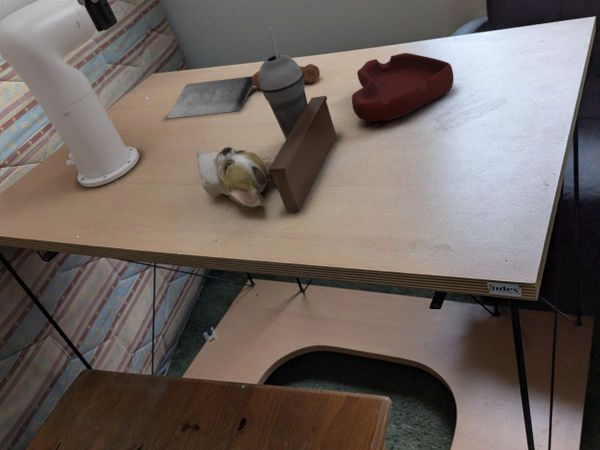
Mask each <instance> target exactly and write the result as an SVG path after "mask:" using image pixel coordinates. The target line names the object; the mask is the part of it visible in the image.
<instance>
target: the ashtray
mask: <svg viewBox="0 0 600 450" xmlns="http://www.w3.org/2000/svg"><path fill="white" fill-rule="evenodd" d="M356 74H357V79H358V81H359V84H360V86H361V88H360V89H358V90H356V91H355V92H354V93H353V94H352V95H351V106H352V109H353V112H354V114H355V116H356V117H357V118H358V119H360V120H361V121H363V122H364V121H365V122H369V124H370V125H371V126H379V125H382V124H384V123H386V122H387V121H390V120H394V119H399V118H400V117H403V116H406V115H407V114H409V113H411V112H412V111H414V110H416V109H417V108H420V107H422V106H425V105H426V104H428V103H430V102H433V101H435V100H437V99H439V98H440V99H441V98H442V97H444V96H446V95H447V93H449V92H450V91H451V89H452V88H453V85H454V78H455V77H454V76H455V75H454V71H453V67H452V65H451V63H449V62H448V61H444V60H442V59H438V58H433V57H429V56H425V55H419V54H415V53H409V52H402V53H398V54H394V55H391V56H390V58H389V60H388V61H387V62H385V63H382V62H380V61H379V60H378V59H377V58H375V59H370V60H368V61H366V62H365V63H364V65H363V66H362V67H360V68H359V69H358V70H357V72H356Z"/></svg>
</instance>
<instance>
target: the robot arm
mask: <svg viewBox="0 0 600 450" xmlns="http://www.w3.org/2000/svg"><path fill="white" fill-rule="evenodd" d="M117 23H118V20H117V17H116V15H115V14H114V11H113V9H112V7H111V5H110V3H109V1H108V0H0V56H1V57H2V58H3V60H4V61H5V62H6V63H7V65H9V67H10V68H11V69H12V70H13V71H14V72H15V73H16V74H17V75H18V77H19V78H20V79H21V81H22V82H23V83H24V85H26V88H28V90H29V91H30V93H31V94H32V95H33V97H34V98H35V100H36V101H37V103H38V104H39V106H40V107H41V109H42V111H43V112H44V114H45V115H46V117H47V118H48V120H49V122H50V123H51V125H52V126H53V128H54V129H55V132H56V133H57V135H58V136H59V137H60V139H61V141H62V142H63V144H64V145H65V147H66V148H67V151H68V152H69V153H68V160H66V163H65V164H66V166H67V167H68V168H71V167H72V168H73V167H75V168H76V169H77V171H78V174H77V181H78V183H79V184H80V186H82V187H86V188H94V187H100V186H103V185H106V184H108V183H111V182H113V181H115V180H117V179H119V178H121V177H123V176H124V175H125V174H127V173H128V172H130V171H131V170H132V169H133V168H134V167H135V165H136V164H137V163H138V161H139V159H140V154H139V152H138V150H137V148H136V147H133V146H126V145H125V143H124V141H123V139H122V138H121V136H120V134H119V132H118V131H117V129H116V127H115V125H114V123H113V122H112V120H111V118H110V116H109V114H108V113H107V111H106V109H105V108H104V105H103V104H102V102H101V100H100V99H99V96H98V95H97V93H96V92H95V89H94V87H93V86H92V84H91V82H90V81H89V79H88V78H87V76H86V75H85V74H84V73H83V72H81V71H80V70H79V69H77V68H75V67H73V66H72V65H70V64H68V63H67V62H65V60H63V58H65V57H66V56H67V55H69V54H70V53H72V52H73V51H75V50H76V49H78V48H80V47H82V46H83V45H84V44H86V43H87V42H89V41H90V40H91V39H93V37H94V35H95V34H96V31H97V32H99V33H101V32H103V31H108V30H110V29H111V28H112V27H113V26H114V25H116V24H117Z"/></svg>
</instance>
